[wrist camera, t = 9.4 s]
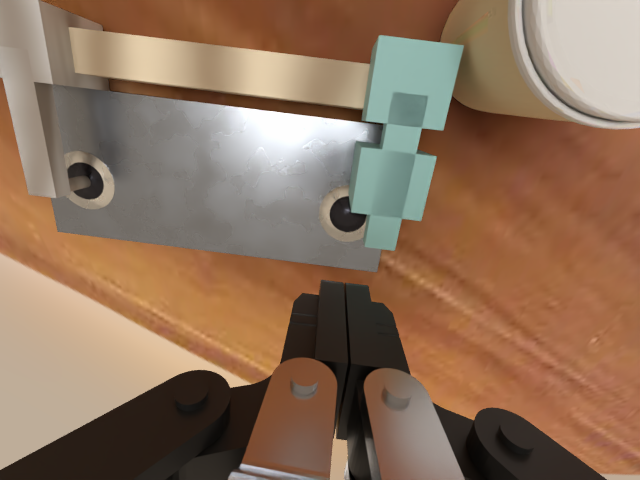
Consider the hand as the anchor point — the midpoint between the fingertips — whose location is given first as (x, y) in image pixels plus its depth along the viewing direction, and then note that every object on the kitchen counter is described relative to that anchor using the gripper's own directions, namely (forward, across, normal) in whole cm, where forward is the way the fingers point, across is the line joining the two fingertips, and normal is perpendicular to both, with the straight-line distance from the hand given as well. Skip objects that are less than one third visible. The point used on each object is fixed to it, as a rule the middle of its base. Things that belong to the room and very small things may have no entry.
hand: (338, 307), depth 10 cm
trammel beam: (+15, +9, -4) cm, 18 cm away
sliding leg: (+14, -3, -4) cm, 15 cm away
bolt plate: (+15, +9, 0) cm, 18 cm away
